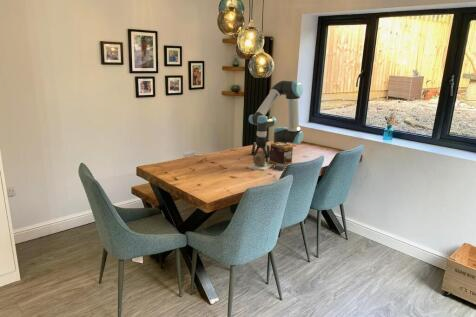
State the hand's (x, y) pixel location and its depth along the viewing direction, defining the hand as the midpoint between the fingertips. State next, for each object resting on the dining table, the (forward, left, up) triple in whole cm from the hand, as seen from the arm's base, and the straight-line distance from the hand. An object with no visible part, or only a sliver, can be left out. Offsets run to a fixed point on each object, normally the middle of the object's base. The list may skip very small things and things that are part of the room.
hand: (260, 164), depth 282 cm
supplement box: (-19, +9, -2) cm, 21 cm away
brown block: (0, 0, +1) cm, 1 cm away
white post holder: (0, 0, -2) cm, 2 cm away
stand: (-4, +15, -2) cm, 16 cm away
